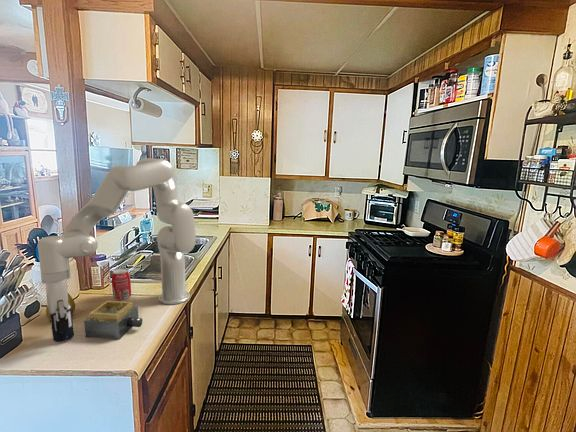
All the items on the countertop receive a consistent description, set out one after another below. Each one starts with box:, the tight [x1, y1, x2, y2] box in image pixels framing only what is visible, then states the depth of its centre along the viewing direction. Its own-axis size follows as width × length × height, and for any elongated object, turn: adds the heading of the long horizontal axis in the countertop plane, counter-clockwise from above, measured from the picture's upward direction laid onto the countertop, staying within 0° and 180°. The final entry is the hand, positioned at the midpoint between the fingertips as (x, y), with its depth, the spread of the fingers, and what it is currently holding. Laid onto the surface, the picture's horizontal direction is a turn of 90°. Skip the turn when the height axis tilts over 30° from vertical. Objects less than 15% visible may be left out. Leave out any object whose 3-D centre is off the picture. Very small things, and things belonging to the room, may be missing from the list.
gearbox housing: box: [83, 300, 143, 340], centre depth 113 cm, size 12×16×8 cm
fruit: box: [45, 285, 76, 321], centre depth 119 cm, size 9×9×12 cm
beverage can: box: [50, 303, 75, 344], centre depth 106 cm, size 6×6×12 cm
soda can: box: [111, 268, 132, 301], centre depth 137 cm, size 7×7×12 cm
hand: (60, 324), depth 106 cm, fingers open, 9 cm apart
